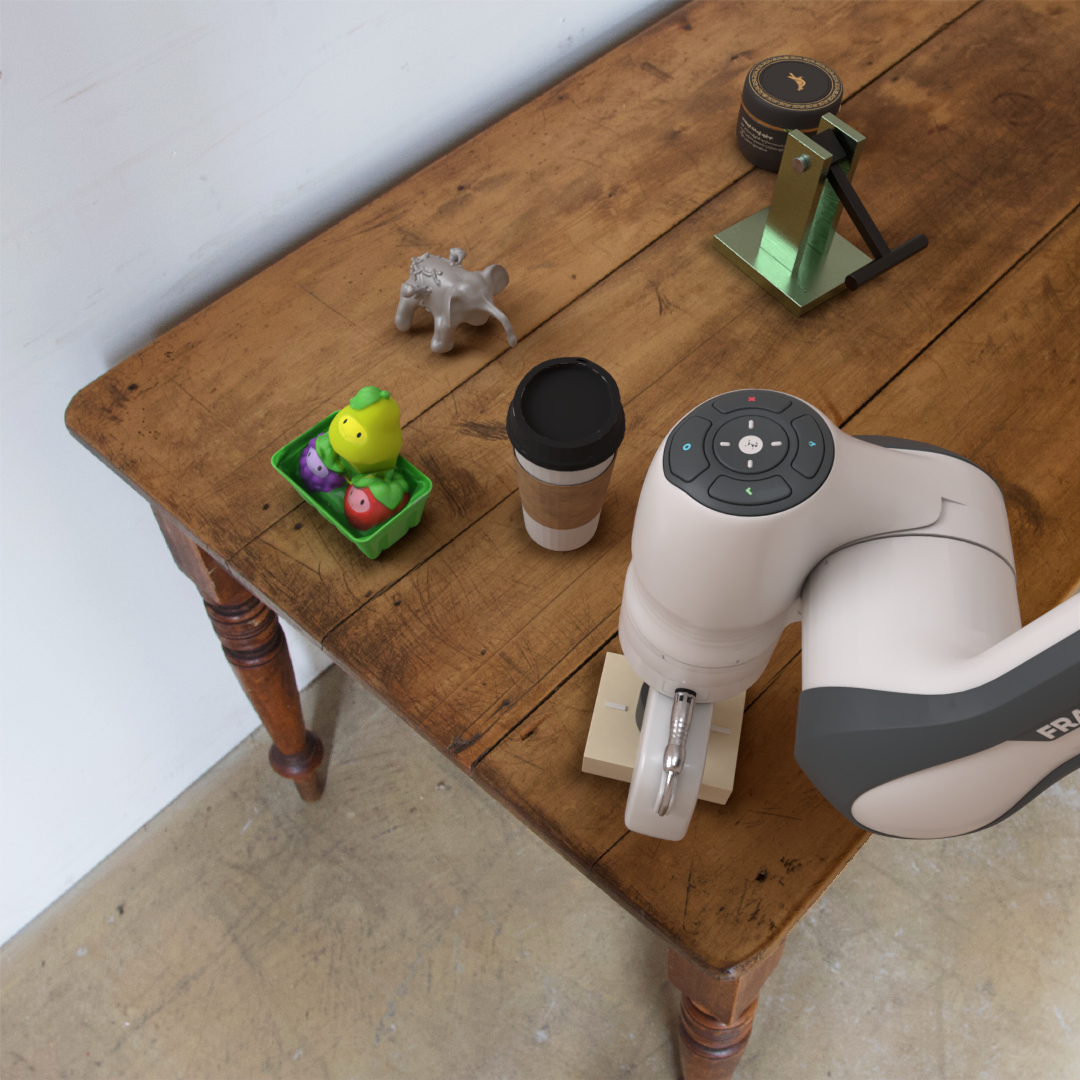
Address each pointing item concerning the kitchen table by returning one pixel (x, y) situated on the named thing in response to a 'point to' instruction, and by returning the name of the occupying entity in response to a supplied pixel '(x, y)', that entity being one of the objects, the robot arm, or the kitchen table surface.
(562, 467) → the coffee cup
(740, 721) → the panel
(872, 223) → the black lever handle
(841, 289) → the green metal lever stand
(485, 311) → the gray elephant figurine
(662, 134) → the kitchen table surface
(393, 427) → the fruit basket
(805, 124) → the jar
